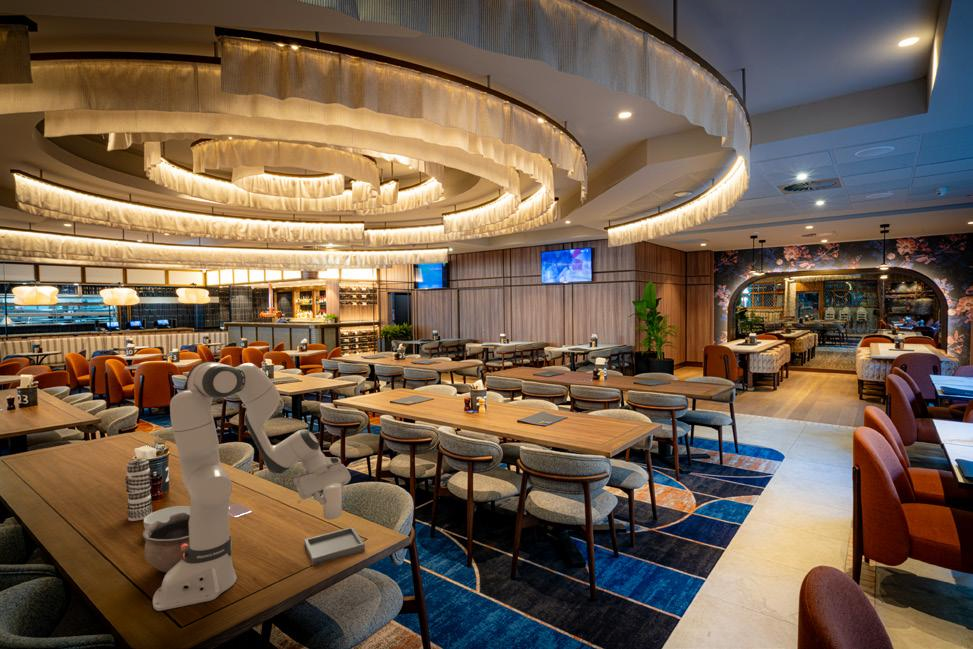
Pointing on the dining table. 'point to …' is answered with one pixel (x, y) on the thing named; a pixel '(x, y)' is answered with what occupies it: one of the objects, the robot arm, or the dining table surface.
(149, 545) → the ceramic bowl
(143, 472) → the decorative candle
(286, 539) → the dining table surface
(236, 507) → the mobile phone
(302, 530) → the dining table surface
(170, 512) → the cereal bowl
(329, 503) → the cream capsule shape
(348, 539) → the serving tray
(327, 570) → the dining table surface
